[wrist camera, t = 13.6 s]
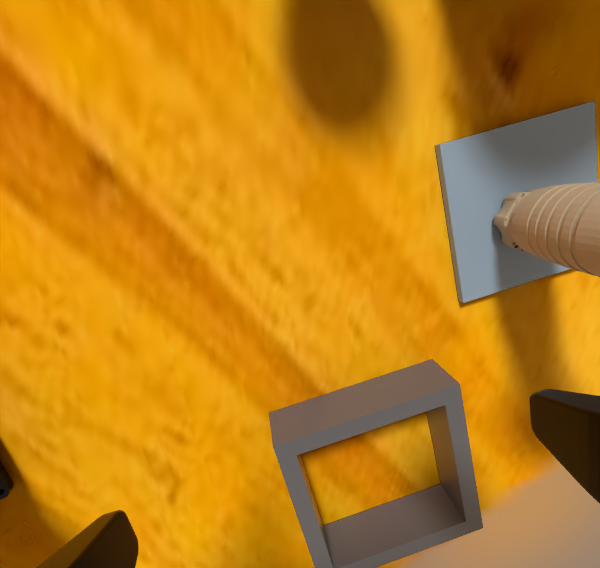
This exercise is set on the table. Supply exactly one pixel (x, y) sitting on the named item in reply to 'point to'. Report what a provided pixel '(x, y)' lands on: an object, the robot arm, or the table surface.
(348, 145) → the table surface
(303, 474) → the grey square frame
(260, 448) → the table surface
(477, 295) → the mat
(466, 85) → the table surface
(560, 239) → the handle
